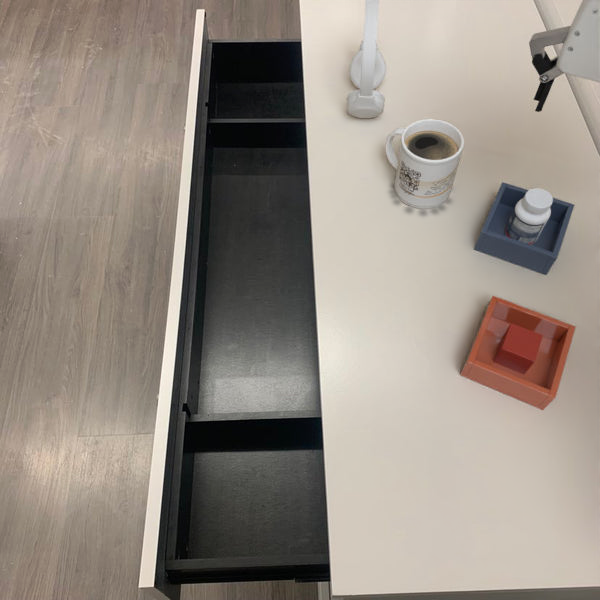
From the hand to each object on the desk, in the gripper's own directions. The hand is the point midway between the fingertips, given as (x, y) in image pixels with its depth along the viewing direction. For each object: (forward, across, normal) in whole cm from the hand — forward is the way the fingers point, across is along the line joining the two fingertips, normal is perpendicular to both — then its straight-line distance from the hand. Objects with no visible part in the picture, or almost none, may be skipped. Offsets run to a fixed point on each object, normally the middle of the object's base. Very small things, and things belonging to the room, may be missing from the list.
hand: (579, 115), depth 66 cm
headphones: (+24, +36, -20) cm, 48 cm away
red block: (+24, -5, +22) cm, 33 cm away
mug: (+24, +19, -4) cm, 31 cm away
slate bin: (+24, 0, 0) cm, 24 cm away
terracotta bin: (+24, -5, +22) cm, 33 cm away
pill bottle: (+24, 0, 0) cm, 24 cm away
